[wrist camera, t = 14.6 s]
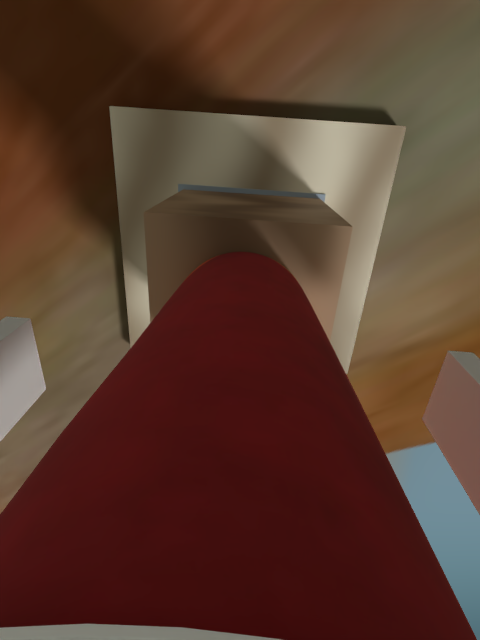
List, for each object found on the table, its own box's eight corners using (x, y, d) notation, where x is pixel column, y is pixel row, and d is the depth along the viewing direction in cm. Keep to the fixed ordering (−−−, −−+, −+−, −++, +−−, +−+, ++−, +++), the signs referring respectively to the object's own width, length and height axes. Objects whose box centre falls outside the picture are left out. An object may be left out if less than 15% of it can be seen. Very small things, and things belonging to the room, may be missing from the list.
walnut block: (319, 198, 21) (352, 226, 13) (301, 321, 24) (319, 395, 17) (183, 189, 21) (143, 212, 14) (184, 312, 24) (153, 382, 17)
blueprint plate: (398, 127, 20) (407, 126, 19) (343, 364, 27) (347, 374, 26) (117, 108, 20) (108, 105, 19) (136, 348, 27) (130, 357, 26)
